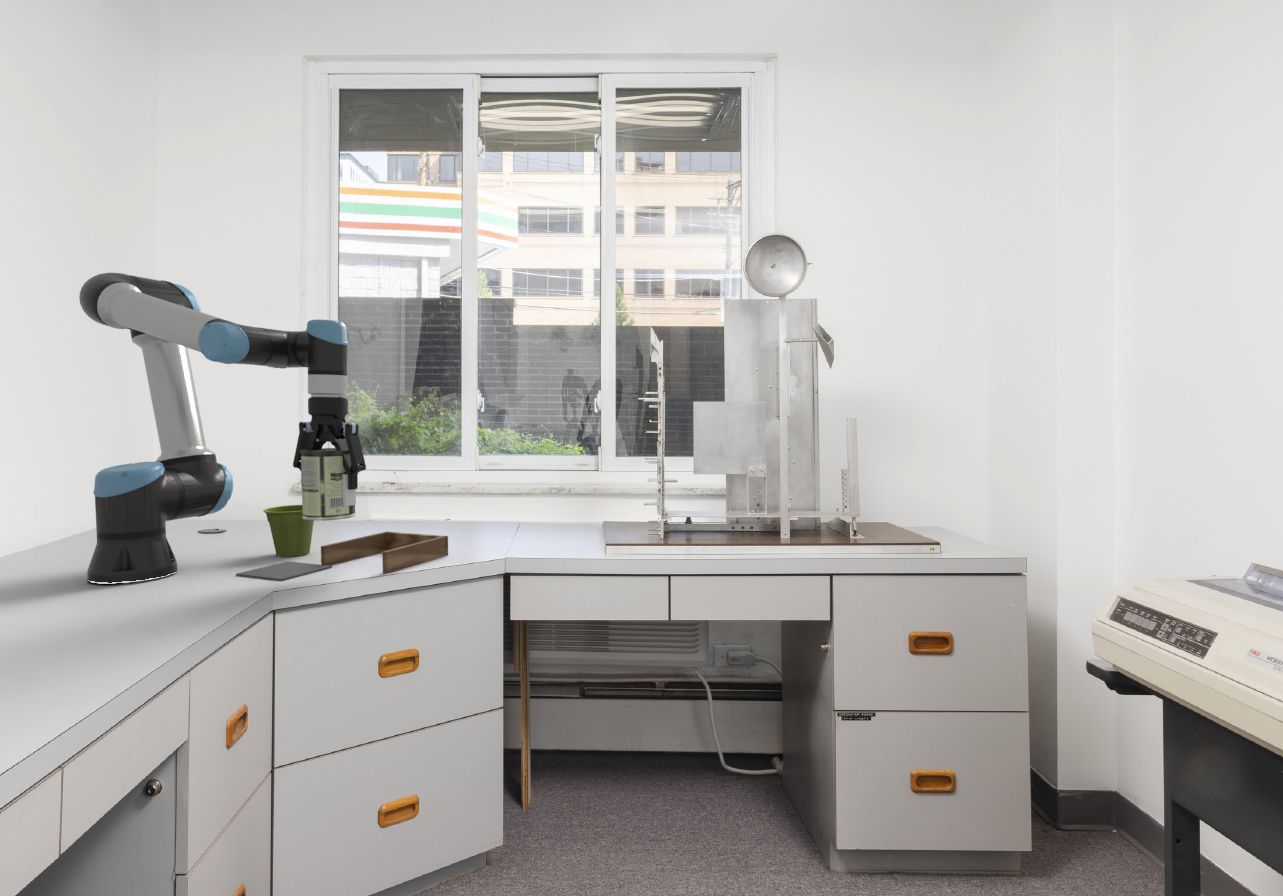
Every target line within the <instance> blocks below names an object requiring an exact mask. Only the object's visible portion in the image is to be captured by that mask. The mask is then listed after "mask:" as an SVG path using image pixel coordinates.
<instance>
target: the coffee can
mask: <svg viewBox="0 0 1283 896" xmlns="http://www.w3.org/2000/svg"><path fill="white" fill-rule="evenodd" d="M300 453H301V460H300V462H301V471H300V472H301V473H302V484H301V503H302V504H301V505H302V513H303V516H302V519H304V520H313V521H314V522H315V521H317V522H318V521H319V522H320V521H323V522H326V521H337V520H338V521H339V520H345V519H352V518H354V517H356V505H351V506H343V474H344V472H345V469H344V467H343V458H342V455H343V454H349V451H348V450H339V451H336V449H335V447H325V448H323V447H322V449H321V450H307V449H304V450H300ZM350 467H351V466H350ZM301 473H300V474H301Z"/></svg>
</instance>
